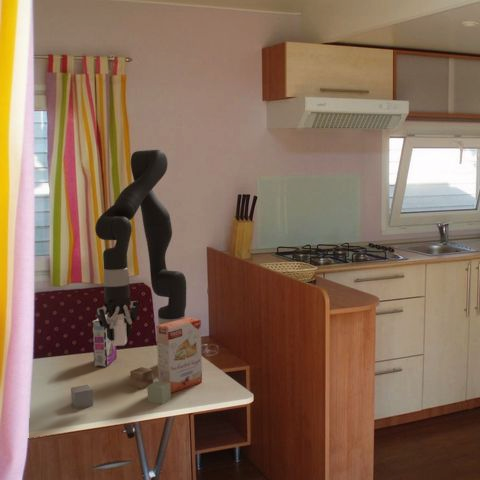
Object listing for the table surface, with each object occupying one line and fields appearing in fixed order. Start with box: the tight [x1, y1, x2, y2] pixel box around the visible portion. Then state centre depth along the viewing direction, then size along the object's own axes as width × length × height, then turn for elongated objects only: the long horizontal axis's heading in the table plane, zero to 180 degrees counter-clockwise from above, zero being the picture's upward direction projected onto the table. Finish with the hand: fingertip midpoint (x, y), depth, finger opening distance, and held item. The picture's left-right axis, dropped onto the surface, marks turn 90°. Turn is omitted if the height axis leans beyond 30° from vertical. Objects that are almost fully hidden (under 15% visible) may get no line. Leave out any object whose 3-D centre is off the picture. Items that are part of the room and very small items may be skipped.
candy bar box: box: [91, 314, 118, 368], centre depth 237 cm, size 11×5×16 cm, turn 172°
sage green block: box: [146, 380, 172, 405], centre depth 199 cm, size 5×5×5 cm
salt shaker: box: [112, 314, 128, 347], centre depth 201 cm, size 4×4×10 cm
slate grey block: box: [70, 384, 94, 410], centre depth 197 cm, size 5×5×5 cm
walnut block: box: [129, 366, 154, 390], centre depth 212 cm, size 5×5×5 cm
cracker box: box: [156, 316, 203, 394], centre depth 209 cm, size 14×6×21 cm, turn 137°
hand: (119, 337), depth 201 cm, fingers closed on salt shaker, 5 cm apart
